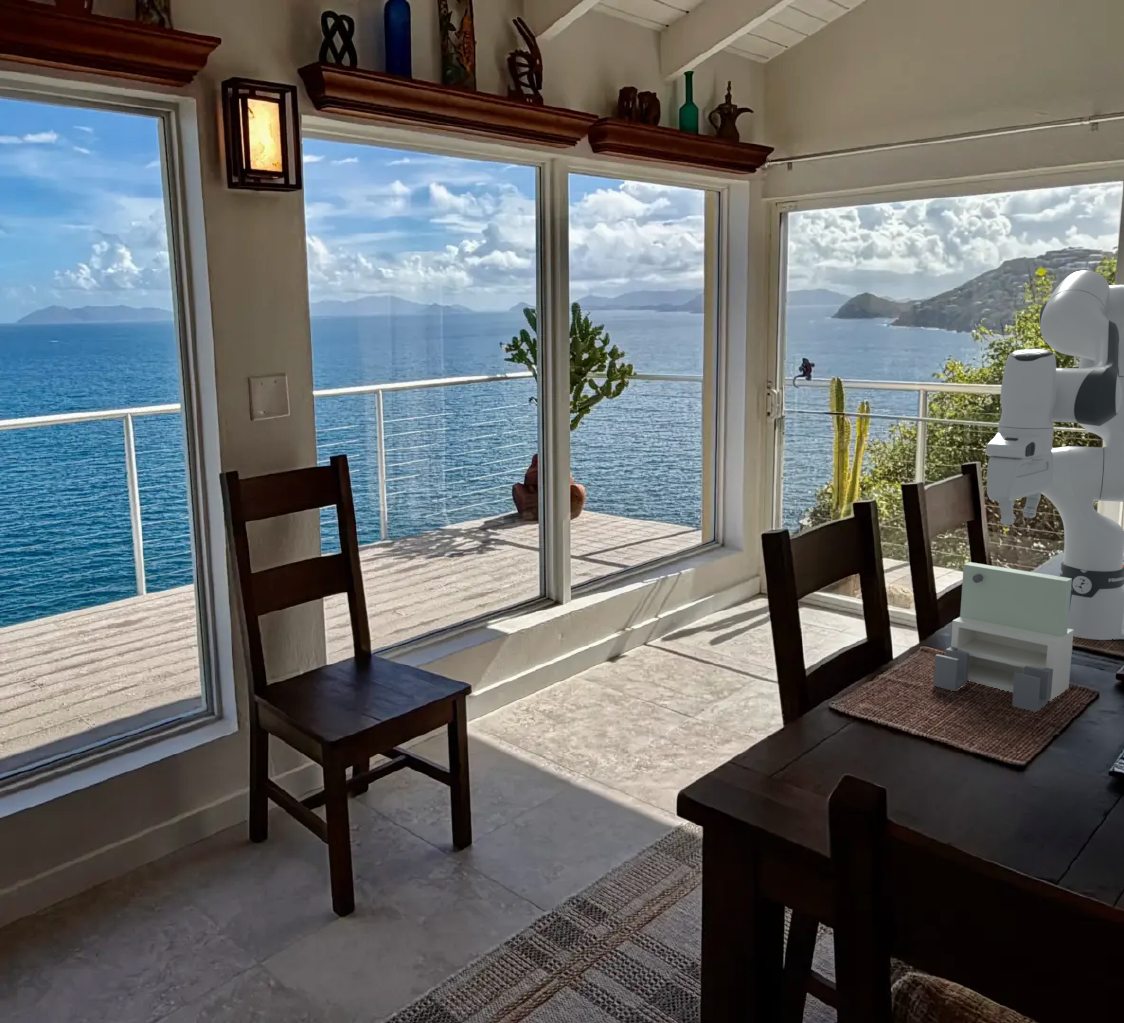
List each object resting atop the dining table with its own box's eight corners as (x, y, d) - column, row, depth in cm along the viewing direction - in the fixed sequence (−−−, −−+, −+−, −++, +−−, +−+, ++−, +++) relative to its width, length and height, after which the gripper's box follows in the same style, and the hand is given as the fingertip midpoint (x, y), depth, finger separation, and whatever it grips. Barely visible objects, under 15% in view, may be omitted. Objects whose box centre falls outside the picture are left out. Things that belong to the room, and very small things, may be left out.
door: (965, 613, 190) (969, 562, 189) (1067, 633, 178) (1072, 578, 176) (957, 618, 188) (960, 565, 186) (1059, 638, 175) (1064, 582, 174)
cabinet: (969, 665, 195) (973, 610, 193) (1068, 688, 182) (1073, 629, 180) (933, 686, 184) (936, 628, 182) (1036, 712, 172) (1041, 650, 169)
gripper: (1029, 437, 187) (1024, 511, 189) (981, 446, 173) (976, 526, 175) (1065, 439, 183) (1059, 515, 185) (1019, 449, 169) (1013, 531, 171)
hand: (1018, 520), depth 180 cm, fingers open, 8 cm apart
